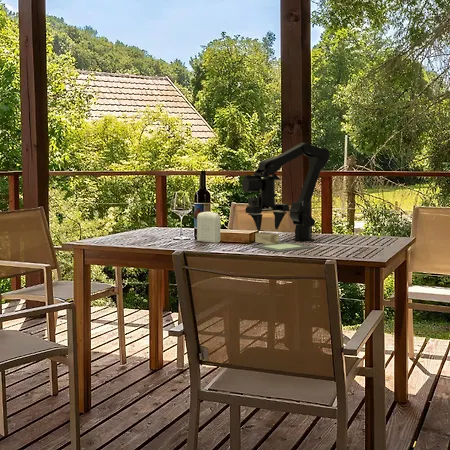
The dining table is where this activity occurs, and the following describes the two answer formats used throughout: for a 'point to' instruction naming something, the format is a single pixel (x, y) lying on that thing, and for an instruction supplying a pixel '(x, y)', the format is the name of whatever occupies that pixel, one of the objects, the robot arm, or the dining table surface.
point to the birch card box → (266, 238)
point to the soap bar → (208, 227)
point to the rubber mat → (282, 247)
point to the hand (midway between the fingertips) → (267, 230)
